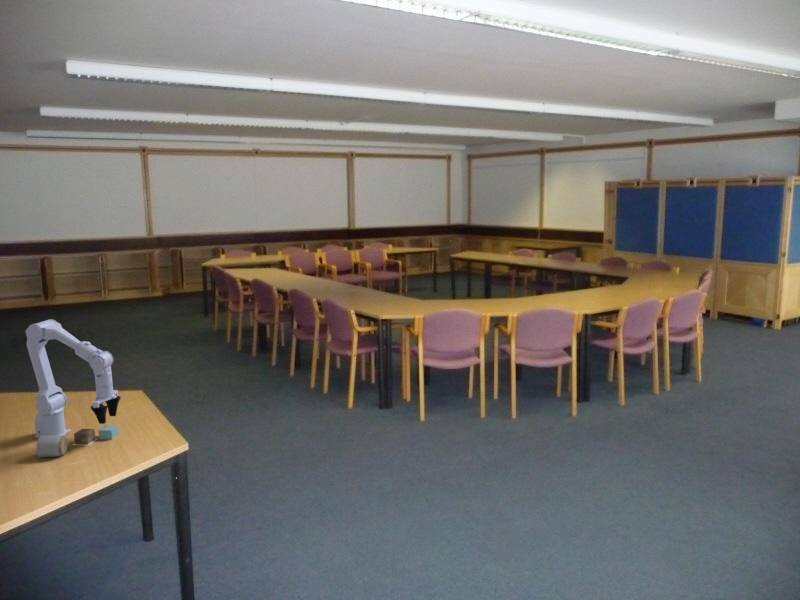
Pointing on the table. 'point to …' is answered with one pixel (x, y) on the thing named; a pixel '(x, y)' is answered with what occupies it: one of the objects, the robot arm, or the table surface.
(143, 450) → the table surface
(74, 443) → the mat
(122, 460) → the table surface
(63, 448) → the ceramic mug
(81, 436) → the walnut block
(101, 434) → the teal block
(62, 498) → the table surface
